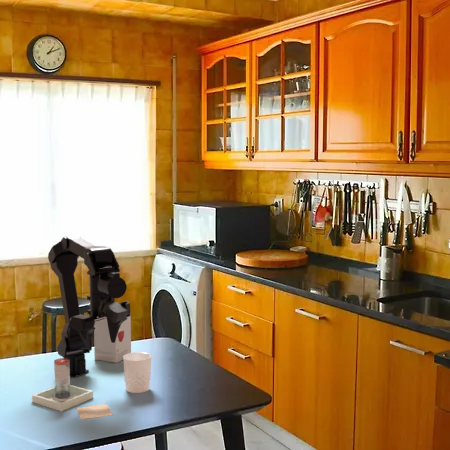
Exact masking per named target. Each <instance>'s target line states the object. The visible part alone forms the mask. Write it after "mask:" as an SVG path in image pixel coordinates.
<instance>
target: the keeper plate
mask: <svg viewBox="0 0 450 450" xmlns="http://www.w3.org/2000/svg"><path fill="white" fill-rule="evenodd" d="M76 411H77V412H78V413H77V414H78V416H79V417H80V420H88V419H95V418H100V417H101V418H102V417H108V416H113V412H112V411H111V409H110V407H109V405H108V403H103V404H96V405H89V406H82V407H77V408H76Z"/></svg>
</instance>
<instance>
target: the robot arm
mask: <svg viewBox="0 0 450 450" xmlns="http://www.w3.org/2000/svg"><path fill="white" fill-rule="evenodd" d="M47 254H48V255H47V259H48V263H50V269H51V270H52V272H53V273H54V274H55V275H56V276H57V278H58V284H59V290H60V297H61V303H62V310H63V315H64V326H63V328H62V331H61V333H60V334H61V340H60V342H59V343H58V345H57V347H56V349H57V354H58V355H59V356H60V357H62V358H67V359H69V365H70V378H76V377H79V376H82V375H84V374H87V373H89V372H90V369H87V367H86V365H87V364H86V363H87V362H86V361H87V360H86V354H89V353H90V351H92V348H93V333H94V330H95V328H94V324H95V322H96V321H99V320H103V319H106V318H107V323H108V329H109V334H110V339H111V342H112V343H115V340H116V337H117V334H118V331H119V328H120V326H121V324H122V323H123V322H124V321H125V320H127V318H126V317H129V316H130V313H131V302H130V301H128V300H125V301H122V302H116V299H119V298H122V297H123V296H124V295H125V293H126V292H127V287H128V286H127V283H126V280H124V278H123V277H121V275H120V274H121V273H120V271H121V270H120V265H119V262H118V260H117V258H116V255H115V252H114V251H113V249H112V248H111V247H109V246H103V245H101V246H100V245H95V244H92V243H91V242H89V241H87V240H85V239H83V238H82V237H81V235H75V234H73V235H65V236H63V237H62V239H61V240H60V241H58V242H57V243H56V244H54V245H53V246H51V248H50V250H49V251H48V253H47ZM79 258H82V259H83V264H84V265H85V266H86V267H87V269H88V271H87V272H86V274H87V275H89V295H86V300H89V307H90V308H89V309H87V312H86V313H87V315H86V314H81V309H80V304H79V298H78V291H77V290H78V289H77V285H76V279H75V272H76V269H77V268H78V265H79V264H78V259H79ZM97 317H98V318H97Z"/></svg>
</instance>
